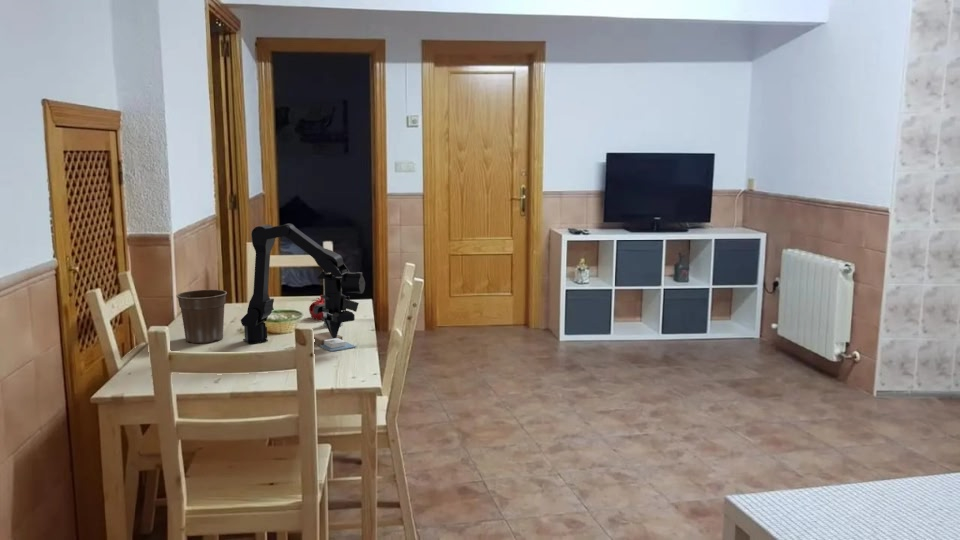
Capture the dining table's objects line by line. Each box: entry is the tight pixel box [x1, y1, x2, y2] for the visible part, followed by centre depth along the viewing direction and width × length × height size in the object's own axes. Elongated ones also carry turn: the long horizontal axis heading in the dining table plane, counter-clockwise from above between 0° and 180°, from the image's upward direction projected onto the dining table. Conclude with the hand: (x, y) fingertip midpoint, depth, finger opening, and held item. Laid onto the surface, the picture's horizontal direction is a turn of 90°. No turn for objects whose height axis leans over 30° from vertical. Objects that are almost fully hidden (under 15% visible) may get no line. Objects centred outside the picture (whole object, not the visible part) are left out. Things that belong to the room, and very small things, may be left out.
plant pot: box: [176, 289, 228, 344], centre depth 260 cm, size 16×16×16 cm
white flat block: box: [324, 338, 347, 348], centre depth 252 cm, size 5×6×2 cm
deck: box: [313, 331, 343, 346], centre depth 258 cm, size 8×9×2 cm
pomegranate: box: [308, 294, 325, 321], centre depth 293 cm, size 10×10×9 cm
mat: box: [319, 341, 357, 353], centre depth 252 cm, size 9×8×1 cm
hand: (334, 338), depth 253 cm, fingers closed
